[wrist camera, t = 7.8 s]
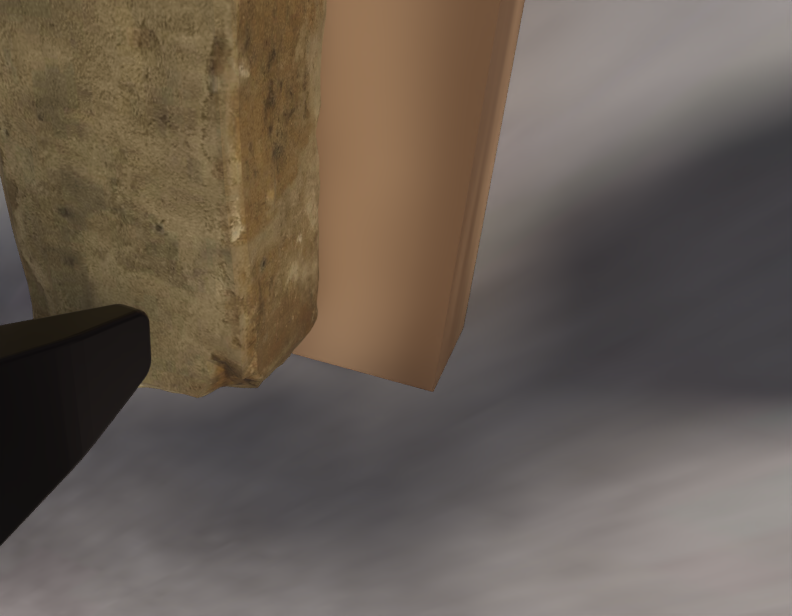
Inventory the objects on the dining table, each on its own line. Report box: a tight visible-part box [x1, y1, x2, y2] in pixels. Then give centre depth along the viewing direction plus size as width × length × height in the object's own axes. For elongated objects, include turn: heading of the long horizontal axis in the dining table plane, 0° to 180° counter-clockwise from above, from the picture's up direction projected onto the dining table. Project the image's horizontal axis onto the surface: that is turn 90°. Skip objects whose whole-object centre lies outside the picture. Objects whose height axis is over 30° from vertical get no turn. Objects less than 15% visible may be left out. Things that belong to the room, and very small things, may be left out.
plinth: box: [292, 0, 525, 392], centre depth 19 cm, size 13×13×4 cm
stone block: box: [0, 0, 327, 398], centre depth 15 cm, size 6×12×5 cm, turn 177°
